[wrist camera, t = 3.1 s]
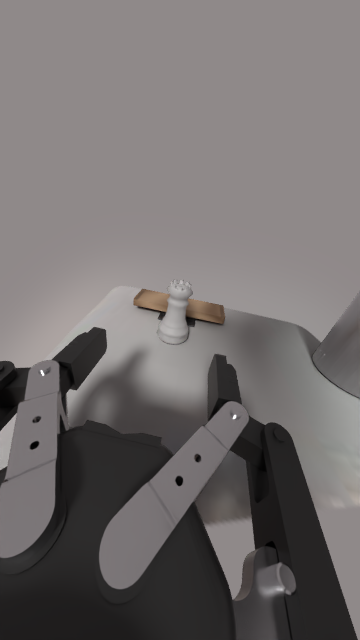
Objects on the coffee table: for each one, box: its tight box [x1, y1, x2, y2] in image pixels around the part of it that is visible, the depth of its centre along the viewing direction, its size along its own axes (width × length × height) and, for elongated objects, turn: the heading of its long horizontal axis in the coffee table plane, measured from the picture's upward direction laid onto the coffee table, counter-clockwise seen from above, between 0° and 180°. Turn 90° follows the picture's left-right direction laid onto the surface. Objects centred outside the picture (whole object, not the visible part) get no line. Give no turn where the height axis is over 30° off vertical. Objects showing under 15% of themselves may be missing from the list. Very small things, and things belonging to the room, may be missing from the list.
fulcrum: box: [158, 311, 195, 327], centre depth 31 cm, size 6×7×1 cm
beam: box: [134, 289, 225, 324], centre depth 31 cm, size 15×4×1 cm, turn 82°
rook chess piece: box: [157, 280, 193, 345], centre depth 24 cm, size 4×4×8 cm
